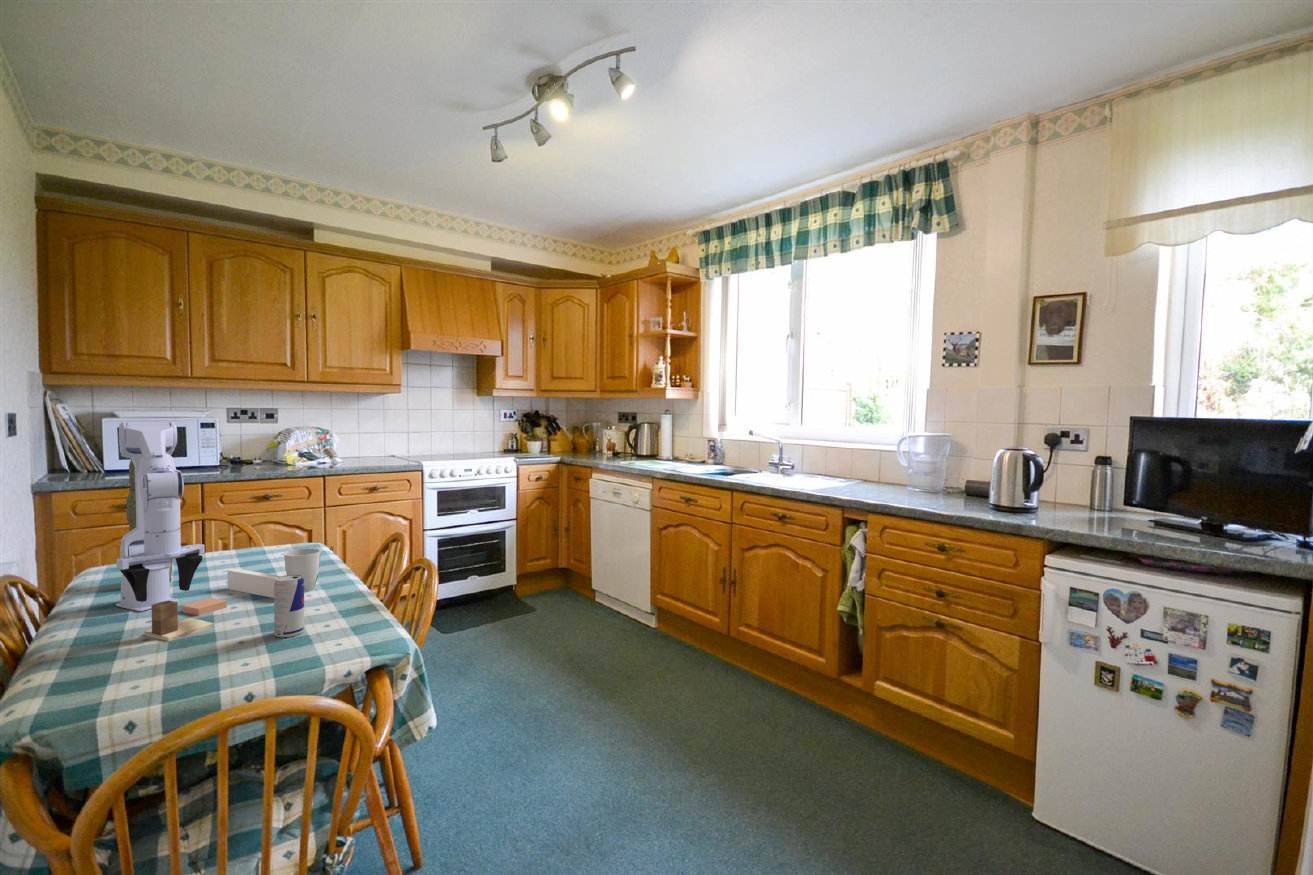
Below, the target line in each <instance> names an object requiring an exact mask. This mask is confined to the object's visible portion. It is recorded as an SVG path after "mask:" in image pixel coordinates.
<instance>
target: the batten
mask: <svg viewBox="0 0 1313 875" xmlns="http://www.w3.org/2000/svg"><path fill="white" fill-rule="evenodd" d="M226 571H227V574H226V575H227V590H231V591H237V592H241V593H246V594H253V595H257V596H262V597H267V598H270V599H274V582H275V579H276V578H278V577H280V576H281V575H275V574H270V573H264V572H258V571H254V570H248V569H247V570H246V569H240V568H231V569H228V570H226Z"/></svg>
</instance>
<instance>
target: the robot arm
mask: <svg viewBox="0 0 1313 875" xmlns="http://www.w3.org/2000/svg"><path fill="white" fill-rule="evenodd" d="M177 428H178V427H177V425H176V423H175V422H173V421H169V422H168V421H167V422H161V421H160V422H156V421H155V422H153V421H152V422H147V421H145V422H143V421H142V422H141V421H140V422H139V421H138V422H137V421H135V422H133V421H132V422H131V421H130V422H129V421H121V422H120V423H119V425H118V444H119V454H120V456H121V457H124V458H127V459H130V461H131V460H132V462H133V464H134V466H135V491H136V528H134V529H133V530H132V531H130V532H129V531H128V532H127V533H126V534H124V535H123V536H122V538H121V539H120V546H119V547H120V548H119V550H120V551H119V553H120V554H119V555H120V556H119V558H116V560H115V561H116V562H115V564H116V569H117V570H120V573H121V578H120V603H116V604H115V606H116V607H119V608H124V609H128V610H132V611H135V612H143V611H147V610H152V604H156V603H160V602H164V601H168V600H169V601H174V602H177V603H178V602H179V599H178V598H175V597H174V598H173V597H171V596H170V595H171V594H170V593H171V592H170V589H171V588H170V582H169V567H171V563H172V564H174V563H175V562H176V567H177V572H178V588H179V591H185V592H186V591H189V590H190V589H191V588H190V587H191V584H192V581H193V579H194V576H195V573H196V571H197V569H198V567H199V566H200V564H201V563H202V561H203V555H202V554H205V544H204V543H203V544H202V543H196V544H188V545H182V542H181V539H182V538H181V536H182V535H181V531H182V530H181V499H183V496H184V490H185V489H184V488H185V485H184V477H183V475H182V474H183V473H182V471H181V470H179V469H177V468H176V467H177V466H176V464H175V460H174V458H173V456H172V455H173V452H174V451H175V448H176V446H177V444H178V429H177ZM178 497H179V498H178ZM137 540H144V541H140V542H133V541H137Z"/></svg>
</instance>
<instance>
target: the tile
mask: <svg viewBox="0 0 1313 875" xmlns="http://www.w3.org/2000/svg"><path fill="white" fill-rule="evenodd" d="M227 607H228V603H227V600H223V599H220V598H213V597H208V598H204V599H201V600H197V601H192V602H190V603H186V604H183V605H181V613H184V614H189V615H192V616H199V617H200V616H203V615H206V614H210V613H213V612H216V611H220V610H223V609H227Z"/></svg>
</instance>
